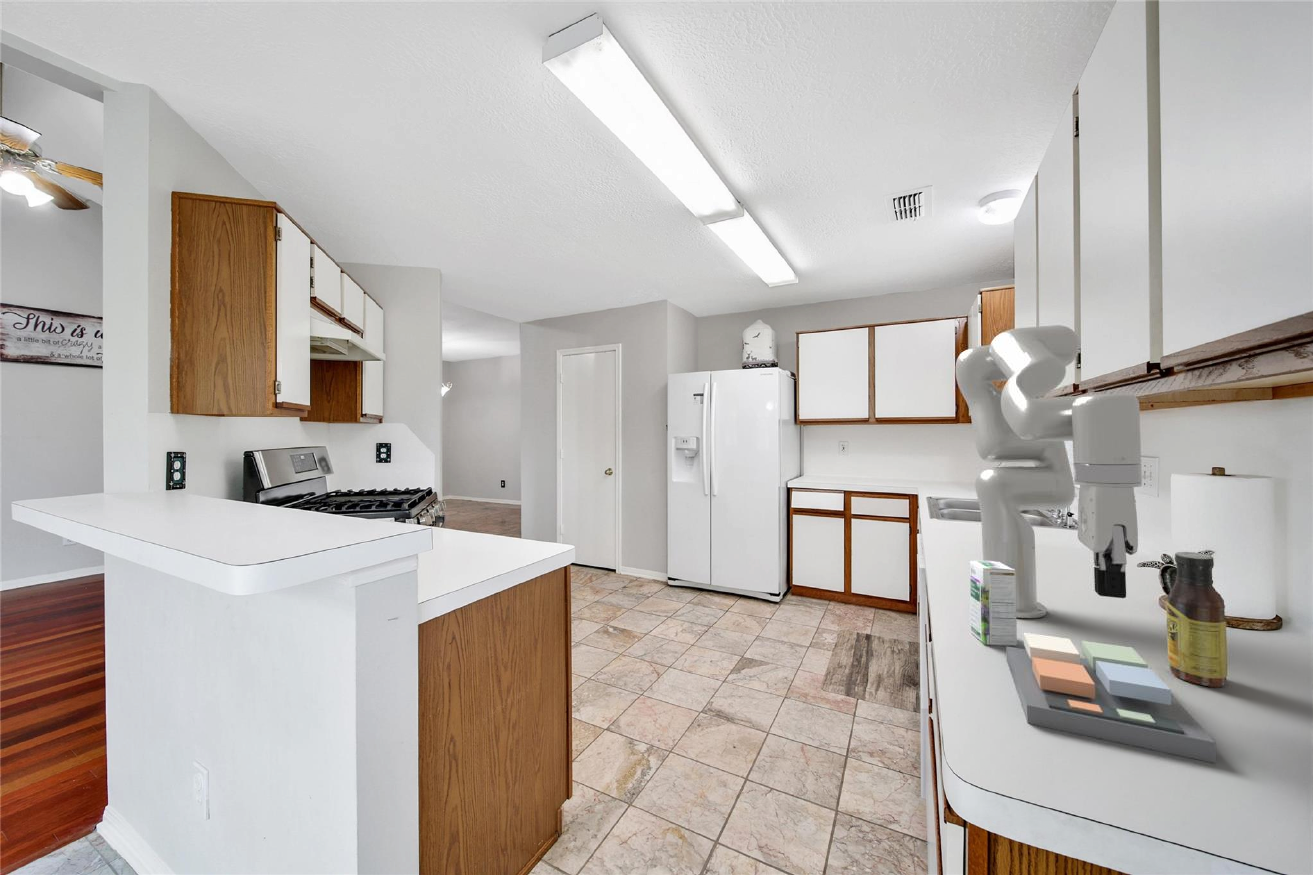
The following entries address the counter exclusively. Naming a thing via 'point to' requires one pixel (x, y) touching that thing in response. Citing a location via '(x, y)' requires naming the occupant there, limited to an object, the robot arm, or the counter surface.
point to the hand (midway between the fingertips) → (1110, 595)
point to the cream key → (1051, 648)
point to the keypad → (1110, 714)
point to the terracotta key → (1063, 677)
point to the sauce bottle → (1196, 623)
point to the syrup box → (993, 603)
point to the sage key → (1111, 654)
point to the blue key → (1133, 682)
